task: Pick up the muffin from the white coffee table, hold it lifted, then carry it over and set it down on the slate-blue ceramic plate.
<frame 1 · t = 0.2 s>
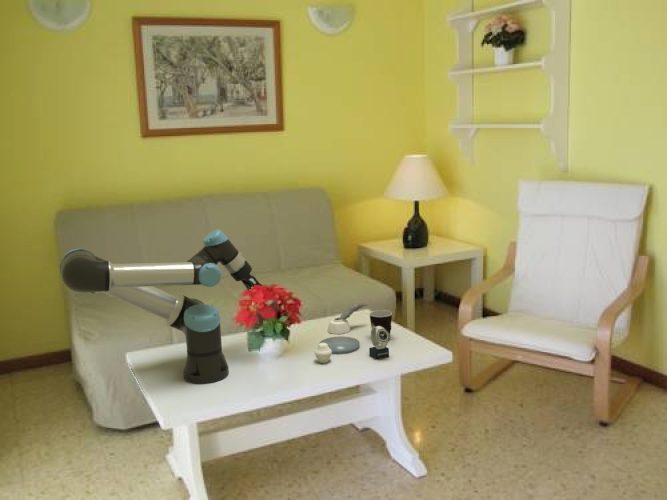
hand: (272, 308, 257), 16 cm above the table, tool tilted 35°, fingers open, 13 cm apart
coffee mug: (381, 340, 265), on the table
watch: (379, 357, 249), on the table
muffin: (323, 362, 246), on the table
plate: (339, 347, 259), on the table
inkwell: (348, 329, 280), on the table
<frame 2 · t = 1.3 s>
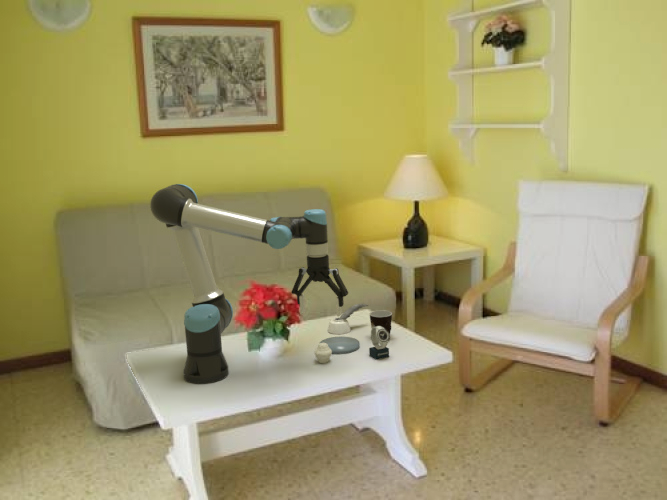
hand: (320, 314, 243), 17 cm above the table, tool pointing down, fingers open, 13 cm apart
nothing on the table moved.
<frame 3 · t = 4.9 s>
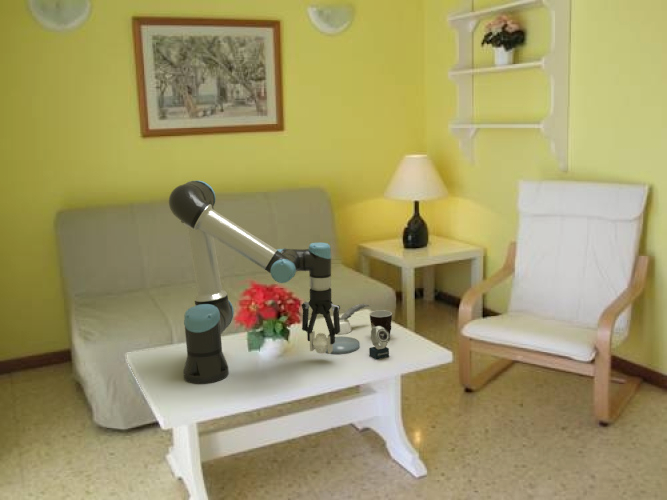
hand: (321, 351, 245), 4 cm above the table, tool pointing down, fingers closed on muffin, 6 cm apart
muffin: (321, 352, 245), point 3 cm above the table, touching gripper
everything else where it was.
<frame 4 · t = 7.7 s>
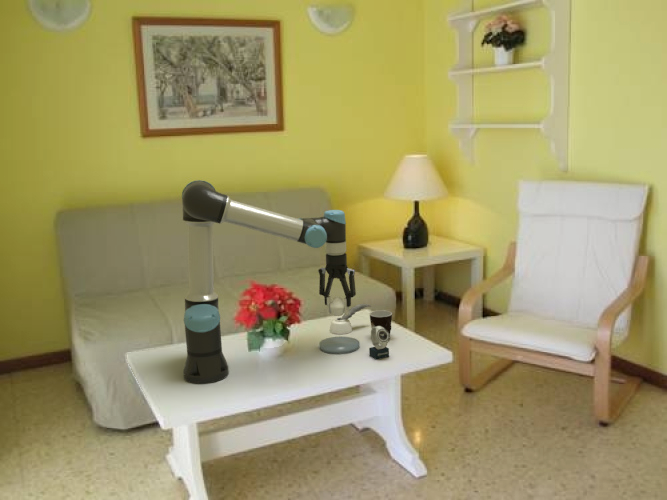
hand: (338, 314, 257), 13 cm above the table, tool pointing down, fingers closed on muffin, 6 cm apart
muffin: (338, 315, 257), point 12 cm above the table, touching gripper
when the fingers open (2 cm above the table, at t = 10.5 s): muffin stays where it is, resting on plate.
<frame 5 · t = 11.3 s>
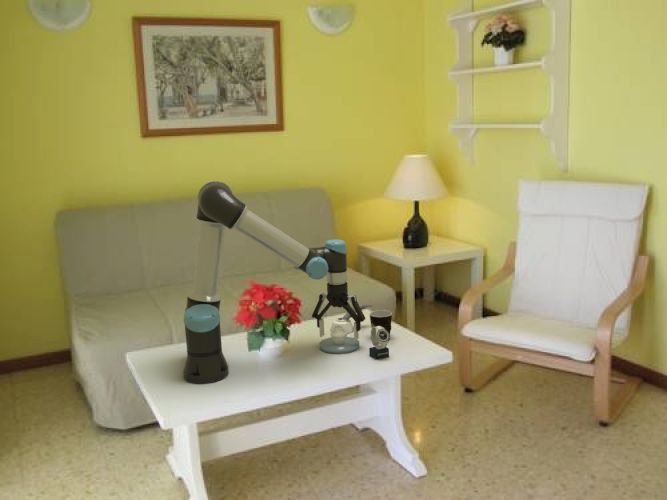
hand: (339, 337, 259), 4 cm above the table, tool pointing down, fingers open, 13 cm apart
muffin: (339, 343, 259), point 1 cm above the table, touching plate
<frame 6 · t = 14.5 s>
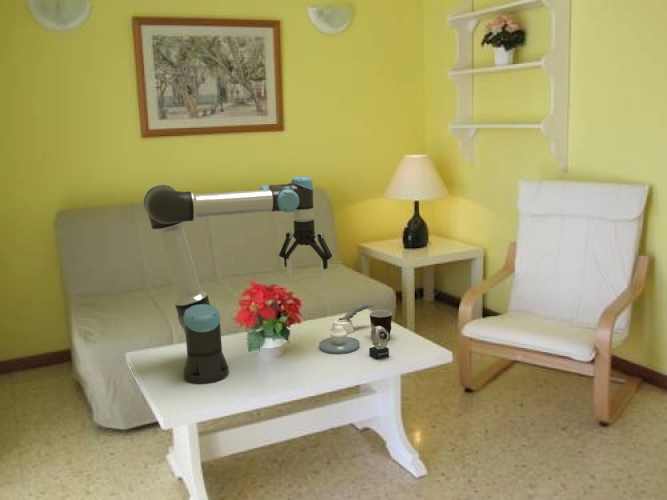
hand: (306, 276, 257), 27 cm above the table, tool pointing down, fingers open, 13 cm apart
at the end: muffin inside the target area on the plate (0.1 cm from its centre), point 1.3 cm above the plate's base; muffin tilted 0°; the gripper is holding nothing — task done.
